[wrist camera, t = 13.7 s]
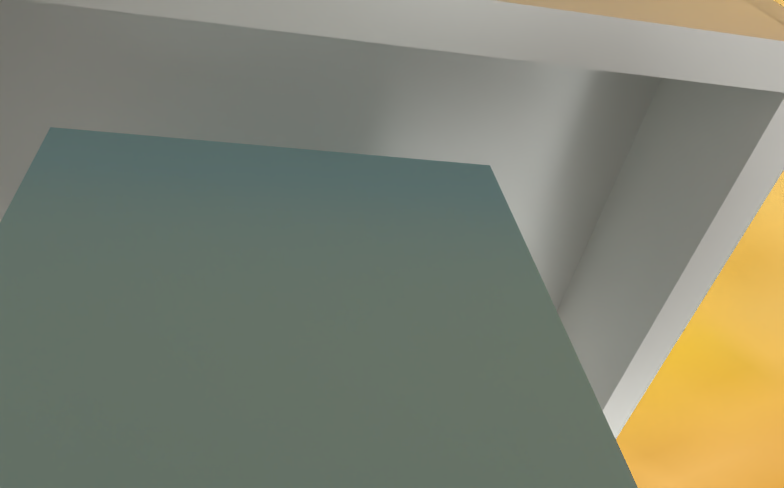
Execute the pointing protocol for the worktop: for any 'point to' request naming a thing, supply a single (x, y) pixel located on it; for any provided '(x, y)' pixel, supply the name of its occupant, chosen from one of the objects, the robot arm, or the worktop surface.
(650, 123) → the tray
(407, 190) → the teal block
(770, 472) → the worktop surface
